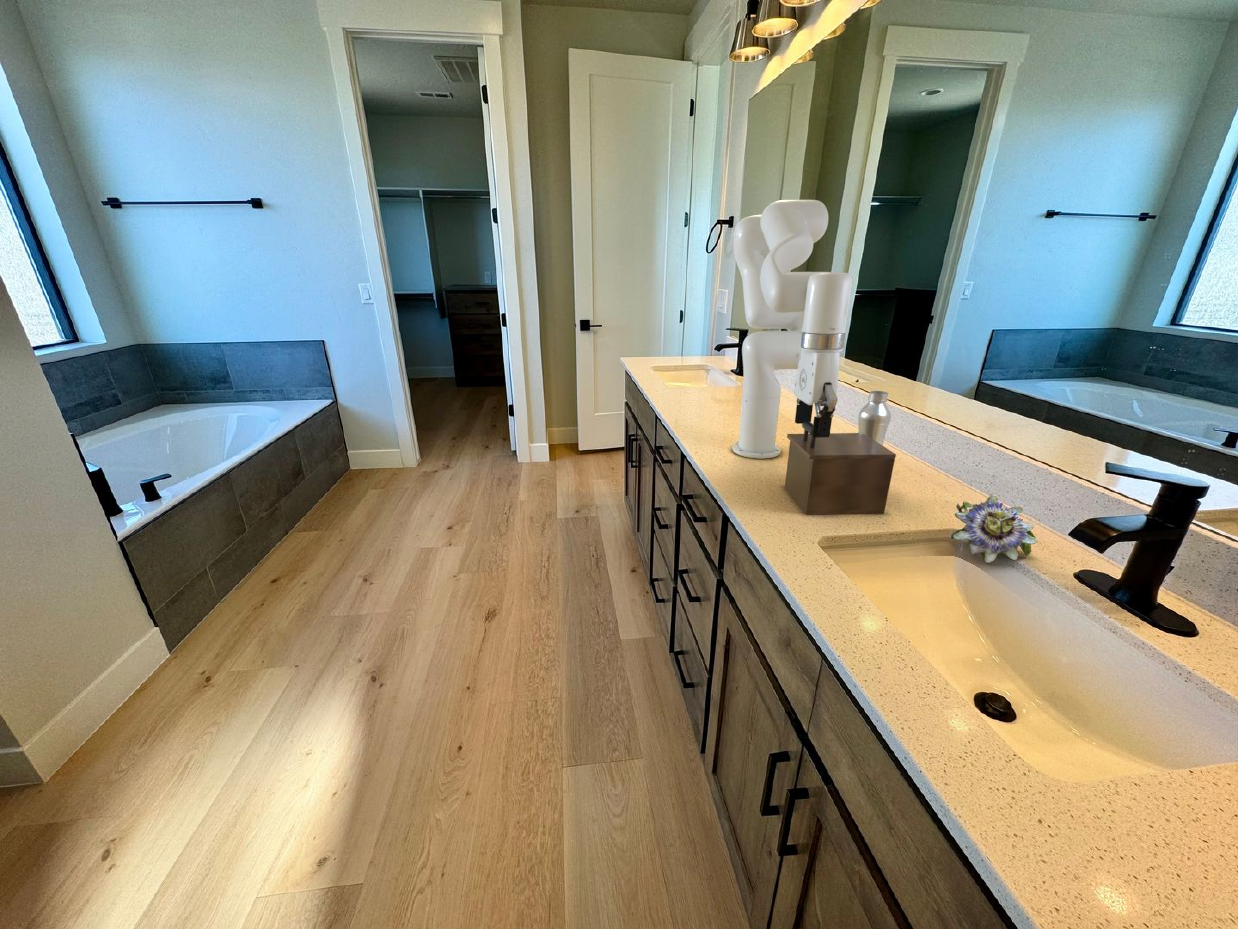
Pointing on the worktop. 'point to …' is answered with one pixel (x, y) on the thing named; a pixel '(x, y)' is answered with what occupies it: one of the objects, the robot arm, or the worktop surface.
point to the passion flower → (994, 529)
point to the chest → (838, 484)
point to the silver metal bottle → (875, 416)
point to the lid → (838, 445)
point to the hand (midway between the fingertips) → (811, 429)
